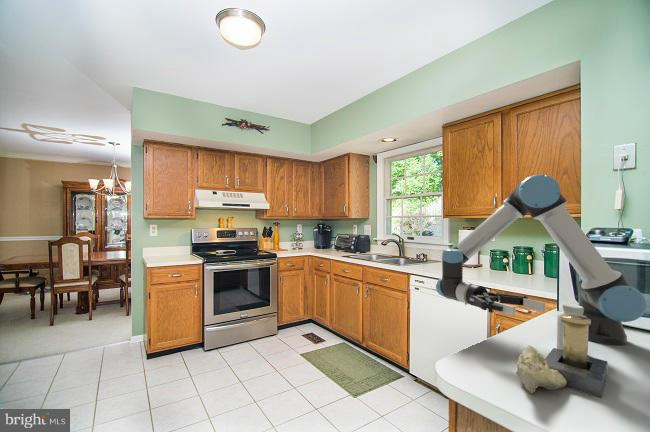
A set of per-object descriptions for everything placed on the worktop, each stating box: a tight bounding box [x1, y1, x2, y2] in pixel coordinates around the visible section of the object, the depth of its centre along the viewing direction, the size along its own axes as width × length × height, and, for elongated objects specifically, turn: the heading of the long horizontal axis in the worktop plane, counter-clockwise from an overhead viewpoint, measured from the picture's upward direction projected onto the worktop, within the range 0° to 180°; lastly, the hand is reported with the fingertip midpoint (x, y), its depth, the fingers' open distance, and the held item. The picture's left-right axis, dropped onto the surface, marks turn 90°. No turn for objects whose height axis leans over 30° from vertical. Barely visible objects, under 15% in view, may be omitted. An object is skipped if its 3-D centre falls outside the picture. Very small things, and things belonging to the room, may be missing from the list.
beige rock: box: [515, 345, 567, 394], centre depth 78 cm, size 15×7×15 cm
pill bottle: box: [556, 303, 589, 356], centre depth 101 cm, size 8×8×15 cm
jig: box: [544, 347, 609, 399], centre depth 84 cm, size 16×12×4 cm
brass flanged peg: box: [560, 314, 591, 370], centre depth 84 cm, size 6×6×16 cm
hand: (529, 309), depth 95 cm, fingers open, 13 cm apart
